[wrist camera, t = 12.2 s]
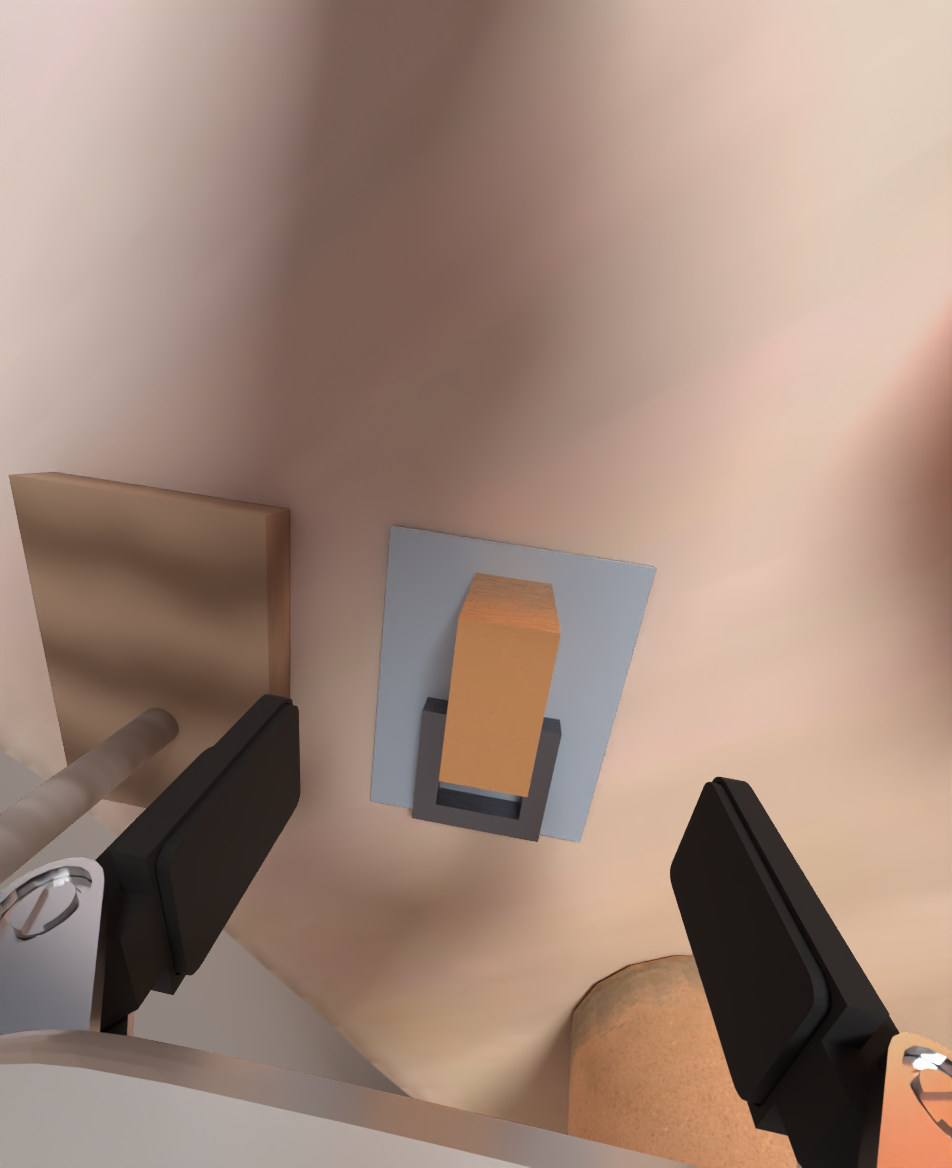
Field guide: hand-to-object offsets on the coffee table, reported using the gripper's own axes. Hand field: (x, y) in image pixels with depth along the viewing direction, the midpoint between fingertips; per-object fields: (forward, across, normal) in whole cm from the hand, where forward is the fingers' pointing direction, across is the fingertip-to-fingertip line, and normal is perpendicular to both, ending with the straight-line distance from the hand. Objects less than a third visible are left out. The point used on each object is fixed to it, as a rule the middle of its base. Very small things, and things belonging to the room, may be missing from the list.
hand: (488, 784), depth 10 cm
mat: (+11, 0, +5) cm, 13 cm away
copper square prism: (+11, 0, +6) cm, 12 cm away
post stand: (+11, +17, +6) cm, 21 cm away
